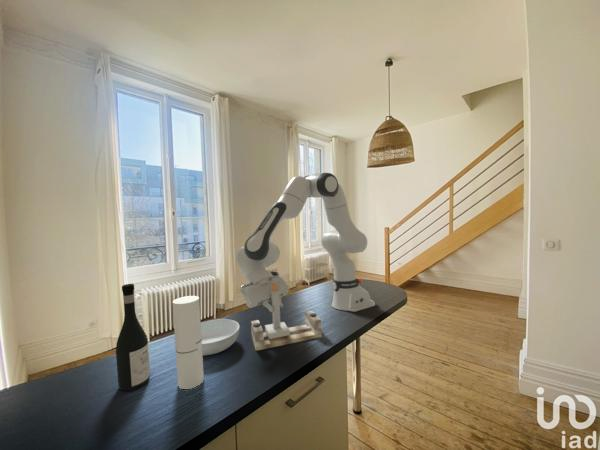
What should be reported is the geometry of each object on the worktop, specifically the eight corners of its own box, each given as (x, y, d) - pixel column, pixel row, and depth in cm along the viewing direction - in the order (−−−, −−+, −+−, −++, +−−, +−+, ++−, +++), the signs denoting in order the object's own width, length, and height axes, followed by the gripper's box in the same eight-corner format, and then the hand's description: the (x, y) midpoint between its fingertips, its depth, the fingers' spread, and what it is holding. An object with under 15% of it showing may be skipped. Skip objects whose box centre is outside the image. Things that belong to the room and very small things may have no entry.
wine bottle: (156, 375, 81) (149, 280, 80) (137, 392, 73) (130, 288, 72) (132, 374, 82) (125, 281, 81) (111, 392, 74) (103, 288, 73)
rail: (312, 326, 111) (311, 309, 111) (321, 336, 102) (321, 318, 102) (251, 338, 103) (250, 320, 103) (255, 350, 93) (254, 330, 93)
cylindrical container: (208, 376, 79) (204, 296, 78) (192, 392, 73) (186, 304, 71) (190, 372, 82) (185, 295, 81) (172, 387, 75) (166, 302, 74)
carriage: (284, 326, 106) (282, 279, 105) (289, 335, 99) (287, 284, 98) (264, 330, 103) (262, 282, 103) (269, 339, 96) (266, 287, 95)
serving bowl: (223, 330, 112) (222, 314, 111) (251, 346, 97) (250, 328, 97) (173, 349, 97) (171, 331, 97) (196, 371, 82) (194, 350, 82)
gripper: (241, 281, 97) (259, 313, 91) (280, 271, 112) (298, 297, 106) (235, 291, 100) (252, 322, 94) (274, 279, 115) (291, 305, 109)
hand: (277, 309), depth 100 cm, fingers closed on carriage, 3 cm apart
